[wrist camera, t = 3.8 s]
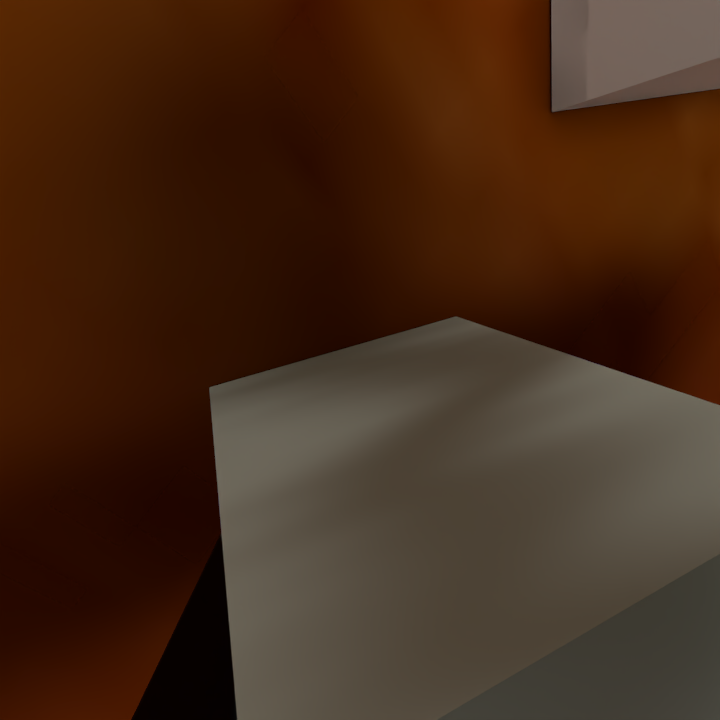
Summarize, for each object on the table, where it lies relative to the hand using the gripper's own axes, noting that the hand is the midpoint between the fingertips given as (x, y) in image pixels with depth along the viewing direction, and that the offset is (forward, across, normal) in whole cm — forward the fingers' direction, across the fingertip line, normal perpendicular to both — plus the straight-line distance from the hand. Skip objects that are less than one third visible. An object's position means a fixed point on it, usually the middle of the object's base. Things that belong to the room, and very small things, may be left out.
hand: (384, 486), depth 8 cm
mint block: (+1, 0, 0) cm, 1 cm away
